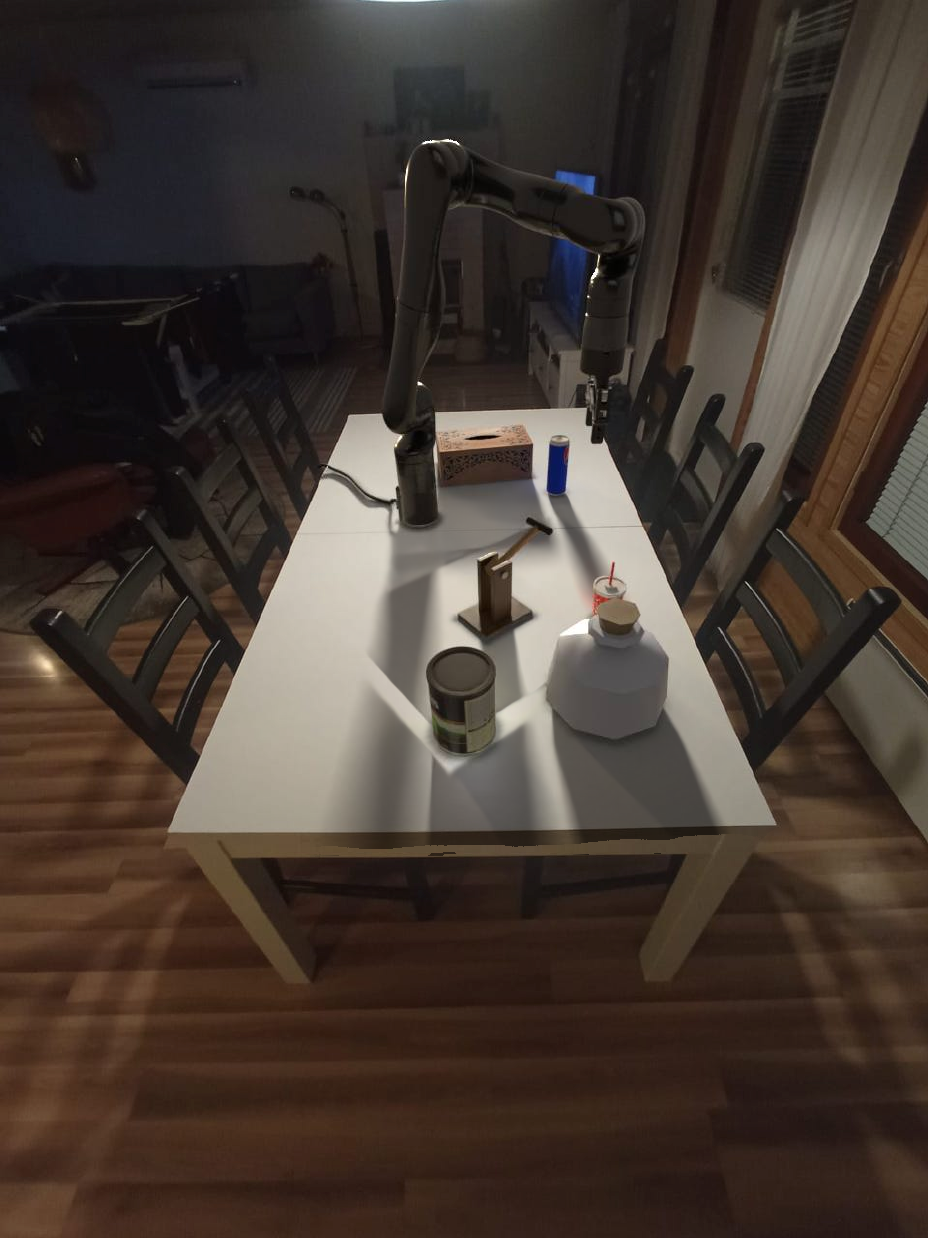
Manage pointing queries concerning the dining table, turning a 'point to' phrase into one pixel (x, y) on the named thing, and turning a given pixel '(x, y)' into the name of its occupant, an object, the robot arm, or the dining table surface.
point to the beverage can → (557, 464)
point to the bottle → (609, 673)
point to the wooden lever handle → (520, 542)
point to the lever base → (494, 599)
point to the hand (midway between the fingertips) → (593, 434)
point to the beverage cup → (607, 589)
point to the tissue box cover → (484, 454)
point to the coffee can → (462, 700)
